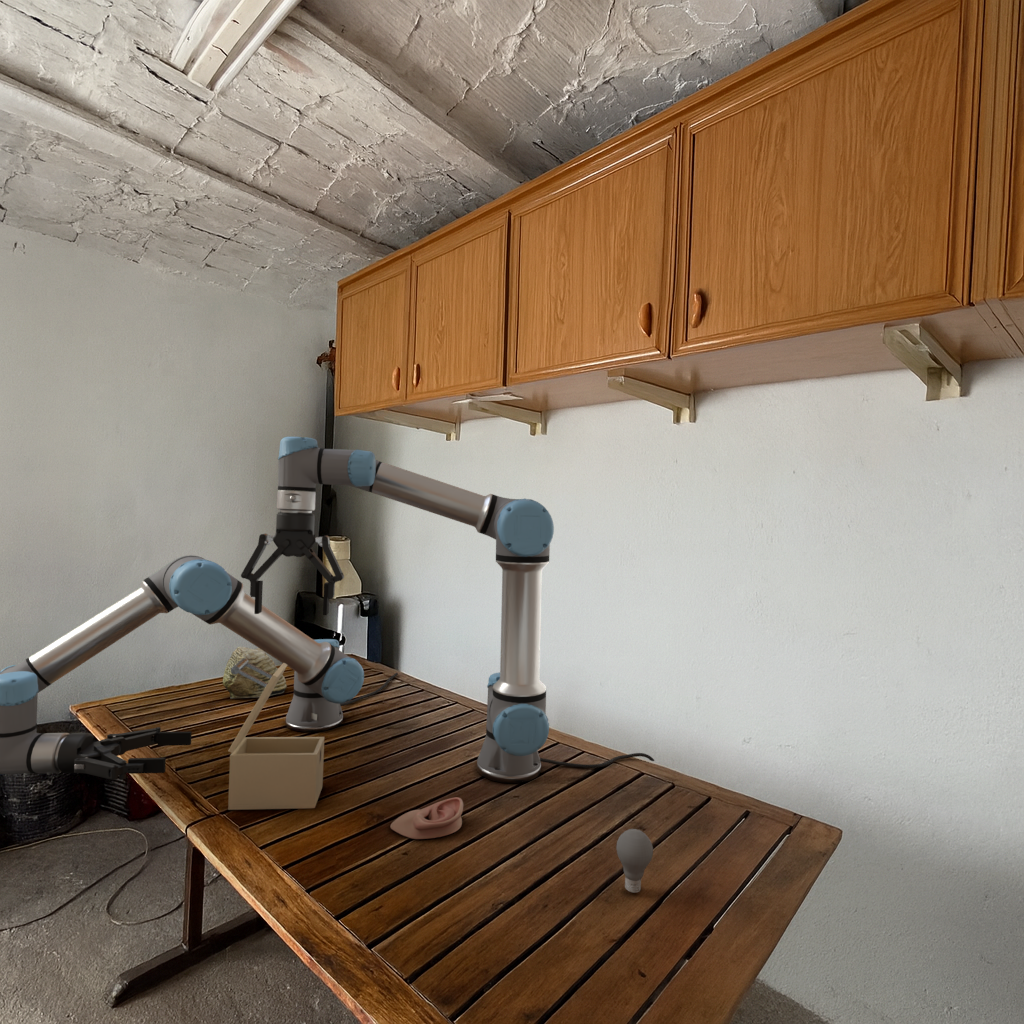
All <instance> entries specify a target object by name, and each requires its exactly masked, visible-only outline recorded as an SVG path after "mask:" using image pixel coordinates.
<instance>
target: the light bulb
mask: <svg viewBox="0 0 1024 1024" xmlns="http://www.w3.org/2000/svg"><path fill="white" fill-rule="evenodd" d="M615 849H616V854H617V857H618V859H619V861H620V863H621V865H622V867H623V873H624V874H623V875H624V876H625V878H624V888H625V890H627V891H628V892H630V893H634V894H635V893H639V892H640V891H641V889H642V887H641V886H642V879H643V877H644V875H645V871H646V868H647V867H648V866H649V864H650V863H651V861H652V859H653V855H654V847H653V843H652V841H651V838H649V836H648V835H647V834H646V833H645V832H643V831H642V830H641V829H636V828H629V829H627V830H625V831H623V832H622V833H621V834H620V835H619V837H618V839H617V841H616V847H615Z"/></svg>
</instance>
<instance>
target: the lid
mask: <svg viewBox="0 0 1024 1024" xmlns="http://www.w3.org/2000/svg"><path fill="white" fill-rule="evenodd" d="M245 666H247V667H249V668H251V669H253V670H254V671H256V672H258V673H260V674H262V675H264V676H266V677H268V678H270V681H269V682H268V683H266V682H264V681H262V680H260V679H258V678H256V677H254V676H252V675H250V674H248V673H246V672H244V671H242V669H243V668H244V667H245ZM287 667H288V666H287V664H285V663H282V664H281V665H280V666H279V667H277V668H278V670H277V671H276V672H275V673H274V674H273V675H272V674H270V673H268V672H266V671H264V670H262V669H260V668H258V667H256V666H254V665H252V664H251V663H249V661H248V659H247V658H243V659H241V660H240V661H239V662H238V663H237V664H236V665H234V666H233V667H232V668H231V673H232V674H240V675H242V676H244V677H246V678H248V679H250V680H252V681H254V682H256V683H258V684H260V685H262V686H264V687H265V689H264V691H263V693H262V694H261V696H260V697H258V699H257V701H256V703H254V704H255V705H254V706H253V708H252V709H251V711H250V713H249V714H248V717H247V718H246V719H245V721H244V723H243V725H242V726H241V728H240V730H239V731H238V733H237V735H236V736H235V739H234V740H233V742H232V743H231V745H230V747H229V748H228V751H227V752H228V753H231V754H232V753H233V752H234V751H235V750H236V748H237V747H238V746H239V744H240V743H241V742H242V740H243V739H244V738H245V737H246V736H247V735H248V733H249V732H250V730H251V728H252V726H253V724H254V723H255V722H256V720H257V718H258V716H259V714H261V711H262V709H263V708H264V706H265V704H266V703H267V701H268V700H269V697H271V696H270V694H271V692H272V691H273V689H274V687H275V686H276V684H277V682H278V681H279V679H280V677H281V675H284V672H285V671H286V668H287Z"/></svg>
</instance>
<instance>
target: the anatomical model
mask: <svg viewBox="0 0 1024 1024" xmlns="http://www.w3.org/2000/svg"><path fill="white" fill-rule="evenodd" d="M463 812H464V801H463V799H462V797H450V798H446V799H443V800H440V801H438V802H435V803H433V804H430V805H428V806H426V807H424V808H421V809H413V810H410V811H408V812H405V813H404V814H402V815H400V816H398V817H397V818H395V819H394V820H393V821H392V822H391V824H390V829H391V830H392V831H394V832H395V833H397V834H399V835H401V836H403V837H405V838H409V839H412V840H425V839H427V840H428V839H435V838H441V837H445V836H448V835H452V834H453V833H456V832H457V831H459V830H460V829H461V827H462V825H463V819H462V814H463Z"/></svg>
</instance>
